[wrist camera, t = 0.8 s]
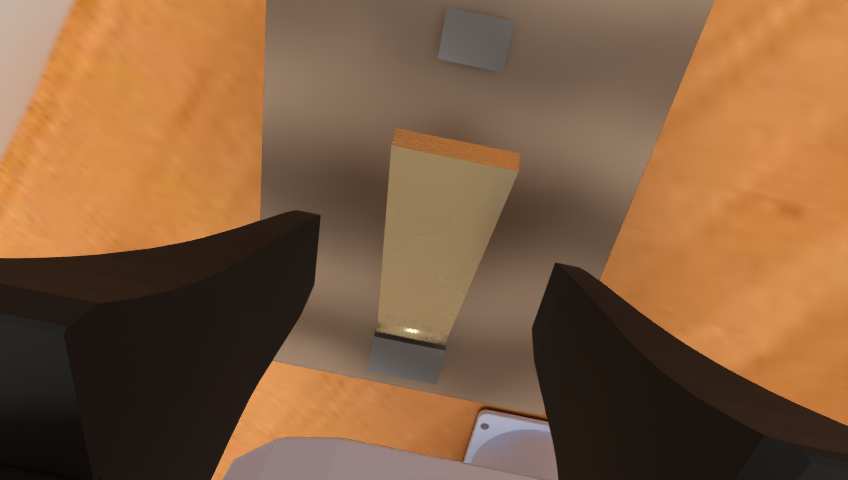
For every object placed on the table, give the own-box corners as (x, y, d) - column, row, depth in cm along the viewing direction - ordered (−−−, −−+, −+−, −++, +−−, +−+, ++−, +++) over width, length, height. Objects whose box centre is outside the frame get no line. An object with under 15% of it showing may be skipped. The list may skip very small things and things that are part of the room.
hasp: (447, 327, 20) (444, 349, 19) (380, 314, 20) (375, 335, 19) (520, 147, 11) (518, 177, 10) (398, 122, 11) (389, 151, 10)
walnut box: (531, 360, 25) (549, 447, 20) (286, 310, 25) (239, 384, 20) (664, 2, 17) (751, -11, 12) (310, -71, 17) (242, -116, 12)
